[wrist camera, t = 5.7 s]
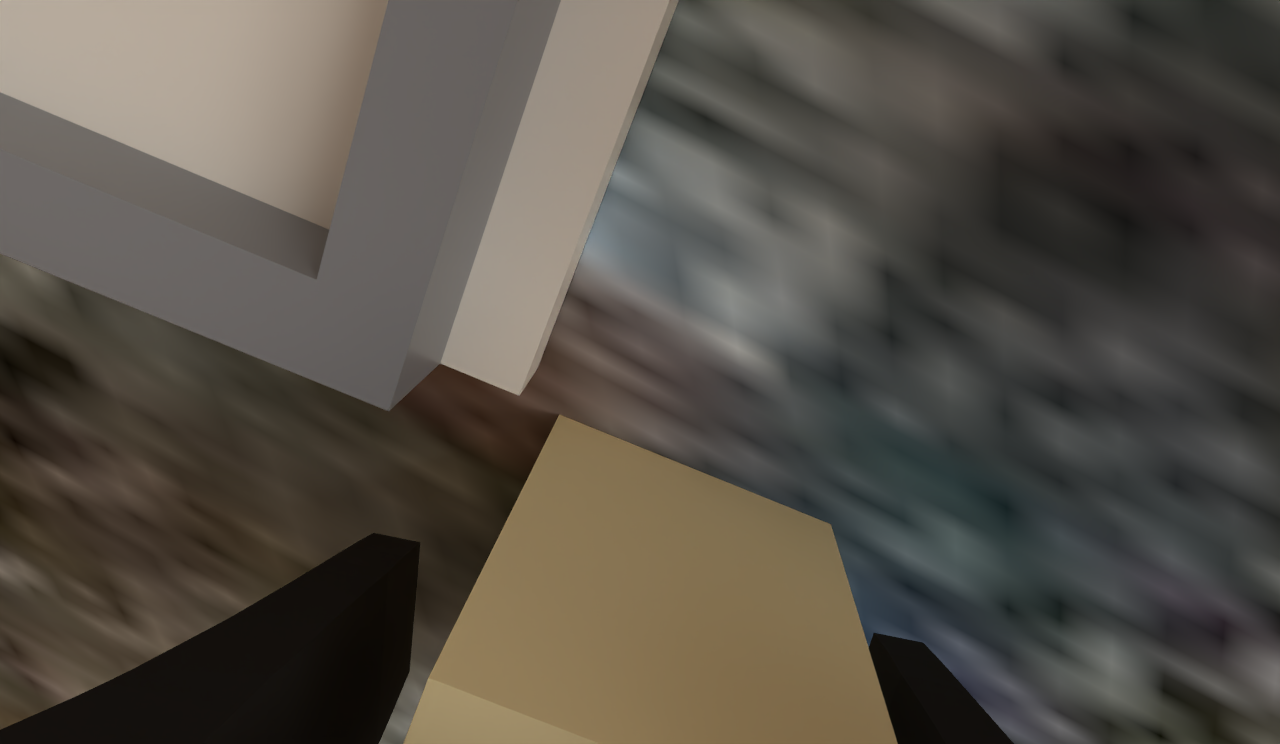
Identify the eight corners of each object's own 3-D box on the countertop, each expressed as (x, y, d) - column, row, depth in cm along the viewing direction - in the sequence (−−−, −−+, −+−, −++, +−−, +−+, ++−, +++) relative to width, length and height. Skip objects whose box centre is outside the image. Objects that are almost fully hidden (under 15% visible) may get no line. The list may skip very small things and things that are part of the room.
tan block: (830, 523, 10) (937, 873, 5) (712, 728, 11) (716, 1153, 7) (559, 413, 10) (427, 676, 5) (471, 635, 11) (303, 1005, 7)
